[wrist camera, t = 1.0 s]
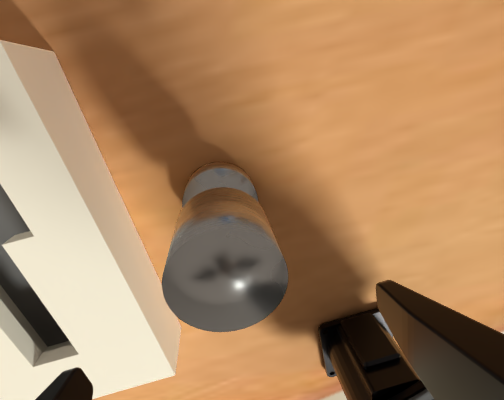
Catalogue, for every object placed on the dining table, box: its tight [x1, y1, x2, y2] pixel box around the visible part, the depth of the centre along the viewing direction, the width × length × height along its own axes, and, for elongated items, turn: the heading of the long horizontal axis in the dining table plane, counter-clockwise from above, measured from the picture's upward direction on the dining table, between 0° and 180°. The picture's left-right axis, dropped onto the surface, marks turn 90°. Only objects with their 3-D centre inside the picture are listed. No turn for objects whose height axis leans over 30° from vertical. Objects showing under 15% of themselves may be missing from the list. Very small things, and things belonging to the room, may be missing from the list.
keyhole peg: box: [162, 162, 288, 332], centre depth 14 cm, size 5×5×9 cm
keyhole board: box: [0, 40, 181, 400], centre depth 16 cm, size 20×12×4 cm, turn 13°
